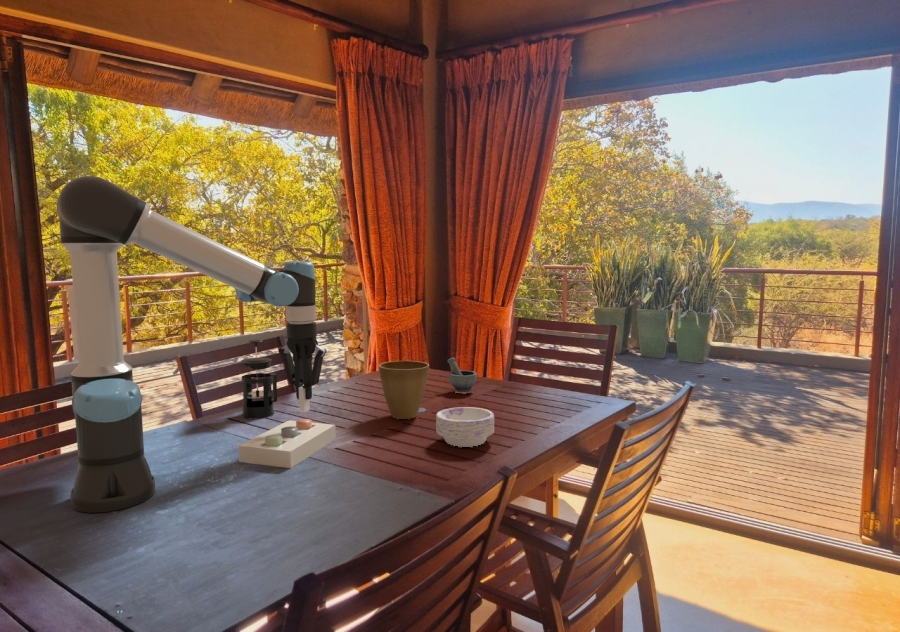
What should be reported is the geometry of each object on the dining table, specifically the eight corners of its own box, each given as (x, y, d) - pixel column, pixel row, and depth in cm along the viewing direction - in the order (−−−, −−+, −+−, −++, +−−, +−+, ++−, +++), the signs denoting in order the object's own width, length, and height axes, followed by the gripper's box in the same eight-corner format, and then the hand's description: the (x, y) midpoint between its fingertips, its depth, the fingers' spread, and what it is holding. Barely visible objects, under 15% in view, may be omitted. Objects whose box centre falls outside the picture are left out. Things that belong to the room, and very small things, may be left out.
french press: (252, 421, 177) (249, 343, 174) (233, 415, 182) (230, 340, 180) (285, 412, 186) (283, 339, 183) (266, 407, 192) (264, 336, 189)
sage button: (276, 456, 143) (276, 440, 142) (262, 455, 144) (261, 438, 143) (285, 451, 146) (285, 435, 146) (271, 449, 148) (271, 433, 147)
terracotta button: (307, 439, 156) (306, 423, 155) (293, 437, 157) (293, 422, 157) (314, 434, 160) (314, 419, 159) (301, 433, 161) (301, 418, 160)
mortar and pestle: (481, 391, 214) (481, 358, 213) (467, 397, 206) (467, 362, 205) (455, 387, 220) (455, 355, 219) (440, 392, 213) (440, 359, 211)
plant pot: (435, 420, 178) (435, 367, 176) (387, 425, 173) (386, 371, 171) (419, 408, 192) (419, 358, 190) (374, 412, 186) (373, 361, 185)
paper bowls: (454, 430, 169) (454, 402, 168) (503, 439, 161) (504, 410, 160) (424, 445, 156) (424, 415, 155) (476, 456, 148) (476, 424, 147)
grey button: (292, 447, 149) (292, 431, 149) (278, 445, 150) (278, 430, 150) (301, 442, 153) (300, 427, 153) (287, 441, 154) (286, 425, 154)
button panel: (290, 468, 139) (290, 451, 139) (239, 461, 143) (238, 445, 143) (335, 439, 160) (335, 424, 160) (289, 434, 164) (288, 420, 164)
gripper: (331, 320, 157) (333, 409, 159) (287, 319, 160) (290, 405, 163) (316, 324, 149) (319, 416, 152) (271, 322, 153) (274, 413, 156)
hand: (304, 411), depth 158 cm, fingers closed
